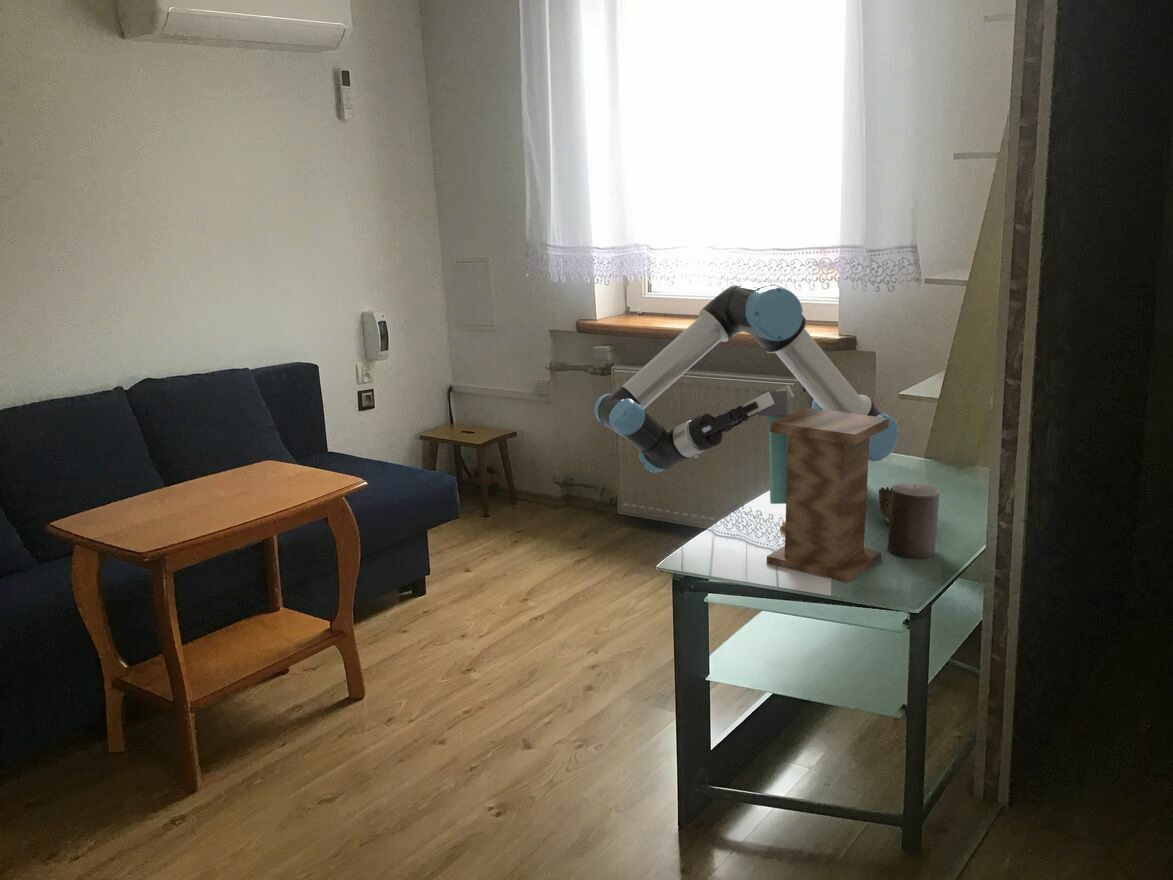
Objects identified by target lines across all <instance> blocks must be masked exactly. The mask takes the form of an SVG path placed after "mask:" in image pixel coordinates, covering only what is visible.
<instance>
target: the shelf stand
mask: <svg viewBox="0 0 1173 880" xmlns="http://www.w3.org/2000/svg"><path fill="white" fill-rule="evenodd" d="M888 423H889V418H882V417H875V416H867V415H859V414H852V413H844V412H837V411H829V410H821V409H814V408H812V407H805V408H803V409H800V410H797V411H795V412H793V413H790V414H787V416H785V417H782V418H780V419H777V420H775V421H772V422H770V432H773V433H780V434H787V453H788V457H787V490H786V504H785V521H786V523H785V533H784V545H783V546H781V547H780V548H777V550H775V551H774V552H771V553H769V554H768V555H766V564H767V565H771V566H775V567H780V568H784V569H788V570H793V571H796V572H801V573H805V574H810V575H814V576H819V577H822V578H826V577H827V579H830V578H832V579H831V580H834V579H836V580H835V581H840V582H843V581H844V583H847V582H849V583H850V582H851V581H853V580H854V579H855V577H856V578H857V577H858V576H860V575H861V574H862V573H864V572H865V571H867V570H868V569H869V568H870V566H871V565H872V566H873V565H874V563H875V562H876V563H878V562H879V561H881V559H882V551H880V550H876V549H870V548H867V547H865V535H866V533H865V532H866V518H867V517H866V515H867V513H866V512H867V495H868V494H867V492H868V475H869V460H868V458H869V438H870V437H871V436H873V435H875V434H877V433H879V432H881V431H883V430H885V429H887V428H888ZM877 561H878V562H877ZM876 563H875V564H876ZM872 566H871V567H872ZM866 569H867V570H866ZM863 571H864V572H863Z"/></svg>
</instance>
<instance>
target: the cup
mask: <svg viewBox="0 0 1173 880" xmlns="http://www.w3.org/2000/svg"><path fill="white" fill-rule="evenodd" d="M892 487H893V486H891V488H889V486H886V487H885V488H884V487H880V488H878V496H879V497H878V502H879V509H880V510H879V511H880V513H881V515H882V516H883V517H885V523H886V524H887V525H888V526H889V519H890V506H891V494H892Z"/></svg>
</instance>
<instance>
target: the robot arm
mask: <svg viewBox="0 0 1173 880" xmlns="http://www.w3.org/2000/svg"><path fill="white" fill-rule="evenodd" d="M803 311H804V310H803V306H802V304H801V302H800V300H799V298H798V297H797V296H796V295H795V293H793V291H792V292H791V290H788V289H786V288H785V287H782V286H779V285H775V284H766V283H760V282H756V281H755V282H754V281H748V280H747V281H741V282H737V283H734V284H733V285H731V286H730V287H728V288H726V289H724V290H723V291H721V292H720V293H719V294H718V295H716V296H715V297H714V298H713V299H712V300H710V301H709V302H708V303H707V304H705V306H703V308H701V310H699V312H698V318H696V320H694V321H693V322H692V323H691V324H690V325H689V326H687V328H685V329H684V330H683V331H682V332H681V333H680V334H679V335H678V336H676V337H675V339H673V340H672V341H670V343H668V345H667V346H666V347H664V348H663V349H662V350H661V351H660V352H659V353H658V354H656V355H655V356H654V357H653V358H652V359H651V360H649V362H648V363H646V364H645V365H644V366H643V367H642V368H641V369H639V370H638V371H637V372H636V373H635V374H634V375H633V376H632V377H630V379H628V381H626V382H625V383H623V385H622V386H621V387H620V388H618V389H617V390H616V391H614V393H606V394H603V395H602V396H599V398H598V399H597V400H596V401H595V404H594V407H593V412H594V416H595V418H596V420H597V421H598V422H599V423H600V424H601V425H602V426H604V428H606V429H610V430H612V431H613V432H615V433H616V434H618V435H619V436H621V437H622V438H624V439H626V440H627V441H628V442H630V443H631V444H632V445H634V446H635V447H636V448H638V457H639V460H640V462H641V463H642V464H643V467H644V469H646V470H647V471H648V472H650V473H654V474H657V473H660V472H663V471H666V470H670V469H672V468H673V467H674V466H676V465H679V464H680V463H682V462H684V461H686V460H688V459H691V458H692V457H694V459H698V458H699V457H700V455H699V454H701V453H703V452H705V451H708V450H710V449H712V448H714V447H716V446H719V445H720V444H721V443H722V440H723V433H724V434H725V433H727V432H729V431H731V430H732V429H733V428H735V427H737V426H739V425H742V424H743V422H746V421H748V420H749V419H750V418H753V417H755V416H756V415H757V416H758V415H759V411H761V410H763V409H765V408H767V407H769V406H771V405H773V404H775V403H774V401H773V399H772V397H771V394H770V392H767V393H765V394H763V395H761V396H759V397H758V396H757V397H755V398H753V399H750V400H749V401H746V402H745V403H743V404H742V405H739V406H737V407H736V408H731V409H730V410H728V411H726V412H723V413H720V414H717V415H715V416H713V415H712V414H710V413H708V412H707V413H706V412H705V413H701V414H700V415H698V416H696V417H694V418H692V419H691V420H687V421H686V422H683V423H682V424H680V425H677V426H676V427H674V428H672V429H667V427H665V426H664V425H663V424H662V423H660V422H659V421H658V420H657V419H656V418H654V417H653V416H652V415H651V414H650V413H649V412H648V411H647V410H646V408H647V407H649V405H651V404H652V403H653V402H654V401H655V400H656V399H658V397H659V396H660V395H661V394H663V393H664V392H666V390H668V389H669V387H671V386H672V385H673V384H674V383H675V382H676V381H677V380H678V379H680V378H681V377H682V376H683V375H684V374H686V373H687V372H688V371H689V369H691V368H692V367H693V366H694V365H695V364H697V362H699V361H700V360H701V359H703V358H704V356H705V355H707V354H708V353H709V352H710V351H711V350H713V348H714V347H716V346H717V345H718V344H719V343H720V342H723V343H726V342H728V341H729V340H730V339H731V338H732V337H734V336H735V335H737V334H739V333H747V334H750V335H751V337H753V339H754V340H755V341H756V342H757V344H759V346H760V347H761V348H762V349H763V351H764V352H766V353H768V354H776V355H777V356H778V358H779V359H780V360H781V362H782V363H783V364H784V365H785V366H786V367H787V369H788V370H789V371H790V372H791V373H792V375H793V376H794V377H795V378H796V379H797V380H798V382H799V383H800V384H801V385H802V386H803V388H804V389H805V390H806V392H807V393H808V394H809V396H811V398H812V399H813V400H812V403H811V408H814V409H821V410H829V411H837V412H844V413H852V414H859V415H867V416H875V417H882V418H889V423H888V428H887V429H885V430H883V431H881V432H879V433H877V434H875V435H873V436H871V437H870V438H869V458H868V462H878V461H882V460H884V459H886V458H888V456H890V455H891V454H892V452H894V450H895V449H896V447H897V444H898V442H899V436H900V427H899V425H898V421H896V419H895V418H893V417H892V416H890V414H888V413H883V412H882V411H881V410H880V409H879V408H878V407H877V406H876V404H875V402H873V401H872V400H871V398H870V397H869V396H868V395H865V394H858V393H857V391H856V390H855V389H854V388H853V386H852V384H850V383H849V381H848V380H847V379H846V378H845V377H844V376H843V375H842V373H841V372H840V370H839V369H838V368H837V367H836V365H835V364H834V363H833V362H832V360H831V359H830V358H829V357H828V356H827V354H826V353H825V352H824V350H823V349H822V348H821V347H820V345H819V344H818V343H817V342H816V341H815V339H814V338H813V337H812V336H811V335H810V333H809V332H808V331H807V330H806V327H807V319H806V317H805V316H804V315H803ZM775 391H787V401H788V400H790V399H791V398H794V397H795V395H794V393H793V390H792V389H791V387H790V384H787V385H785V386H783V387H781V388H779V389H777V390H775Z"/></svg>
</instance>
